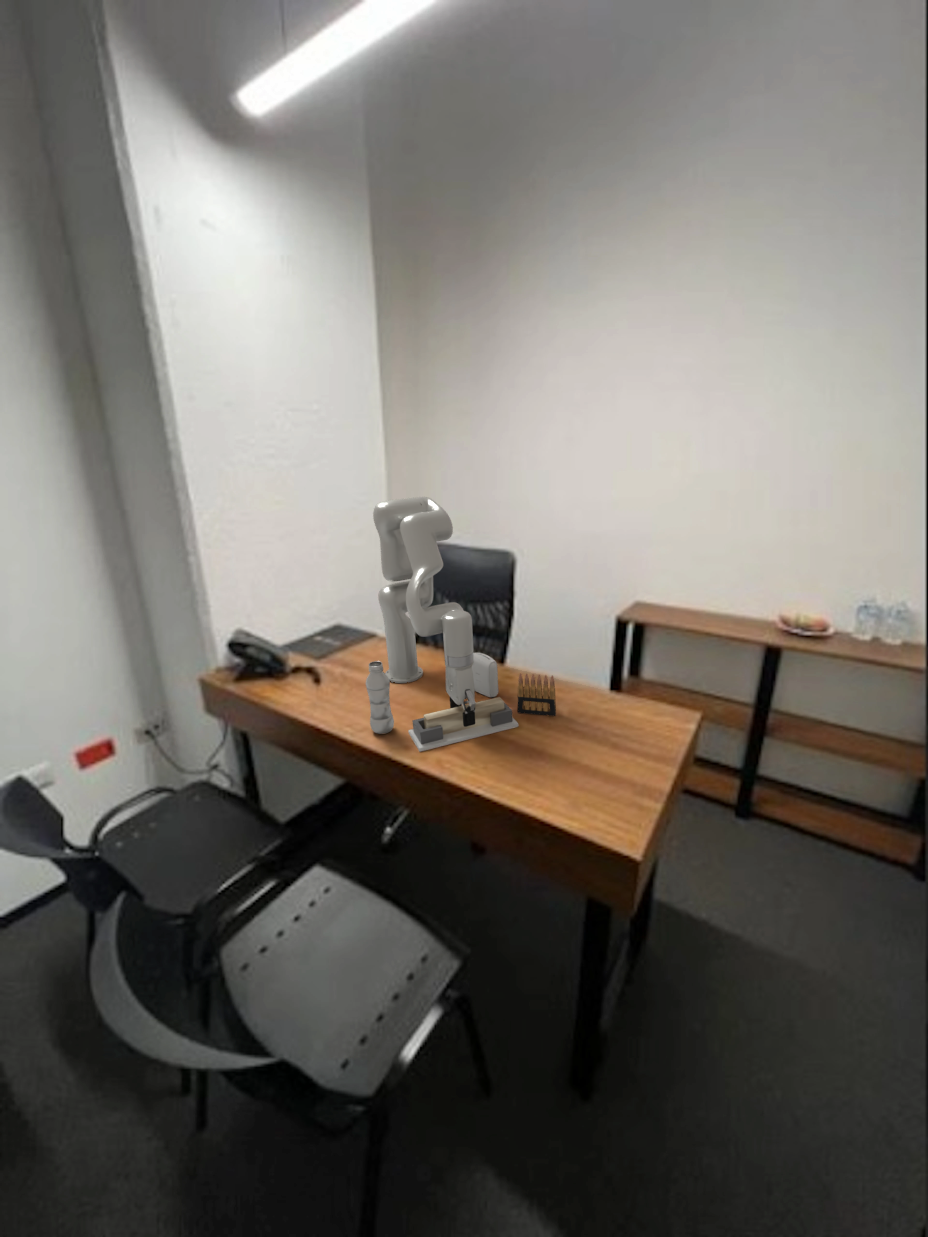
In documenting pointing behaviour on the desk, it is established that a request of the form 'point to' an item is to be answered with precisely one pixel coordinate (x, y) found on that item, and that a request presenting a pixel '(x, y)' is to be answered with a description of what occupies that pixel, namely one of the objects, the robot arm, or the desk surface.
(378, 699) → the plastic bottle
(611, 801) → the desk surface
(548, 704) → the ammunition clip
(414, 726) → the end cap board
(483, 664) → the photo printer
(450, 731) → the slat
